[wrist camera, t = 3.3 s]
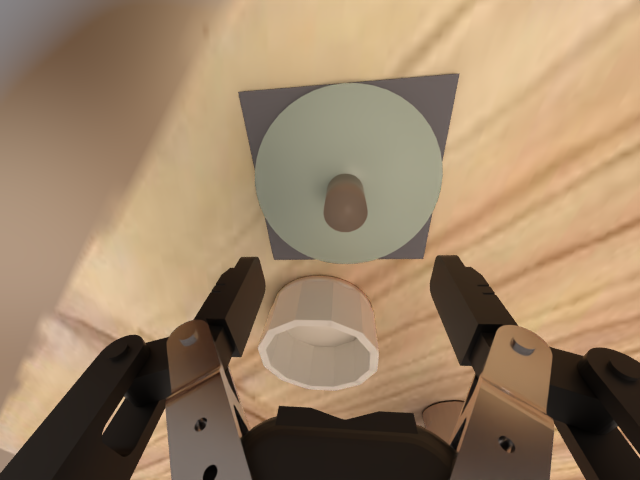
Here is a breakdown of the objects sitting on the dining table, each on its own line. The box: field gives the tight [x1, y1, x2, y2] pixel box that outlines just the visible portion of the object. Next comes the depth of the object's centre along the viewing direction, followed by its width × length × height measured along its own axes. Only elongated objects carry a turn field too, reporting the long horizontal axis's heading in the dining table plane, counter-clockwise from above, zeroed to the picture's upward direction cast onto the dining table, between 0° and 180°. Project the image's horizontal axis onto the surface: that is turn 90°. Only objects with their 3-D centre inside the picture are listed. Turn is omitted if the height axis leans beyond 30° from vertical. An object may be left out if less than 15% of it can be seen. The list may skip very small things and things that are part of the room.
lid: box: [255, 83, 443, 264], centre depth 19 cm, size 15×15×5 cm
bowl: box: [258, 276, 379, 391], centre depth 27 cm, size 12×12×6 cm
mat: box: [238, 74, 459, 260], centre depth 21 cm, size 15×15×1 cm
